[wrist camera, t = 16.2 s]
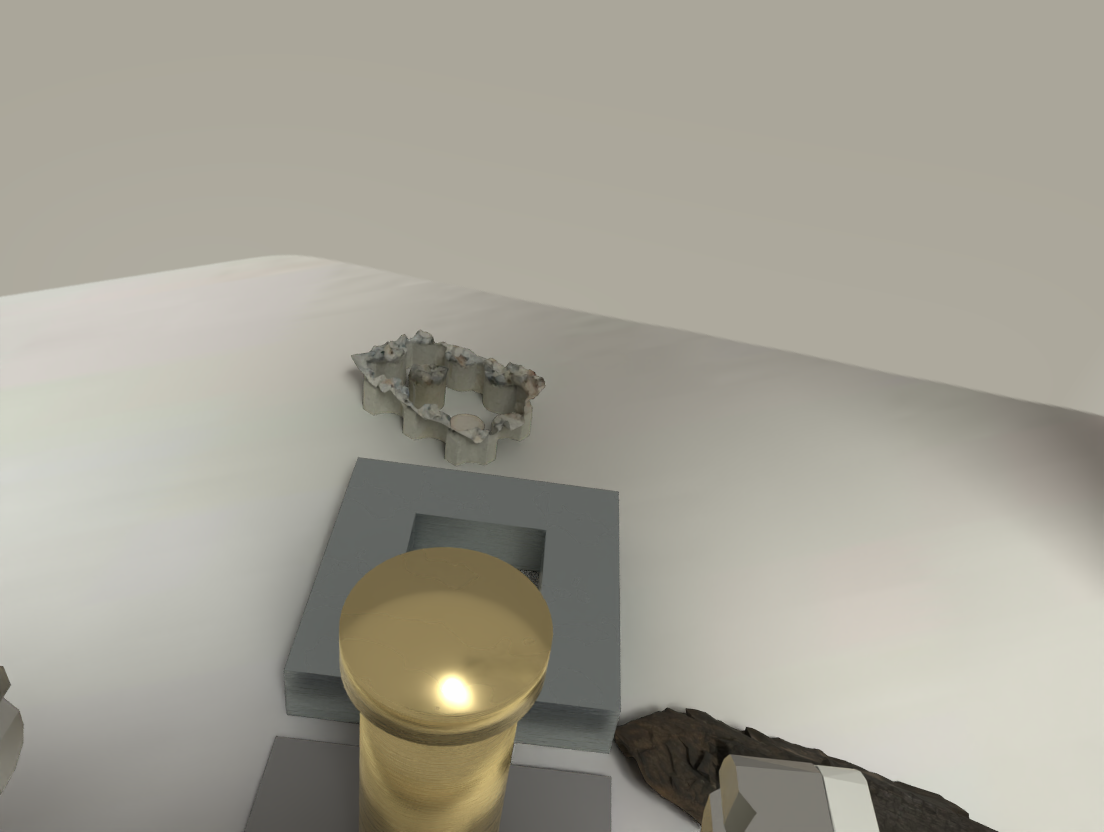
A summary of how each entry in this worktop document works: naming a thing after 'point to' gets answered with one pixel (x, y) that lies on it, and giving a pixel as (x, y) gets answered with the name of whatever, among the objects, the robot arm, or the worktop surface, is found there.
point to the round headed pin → (440, 685)
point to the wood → (703, 742)
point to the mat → (333, 794)
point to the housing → (505, 533)
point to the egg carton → (427, 394)
